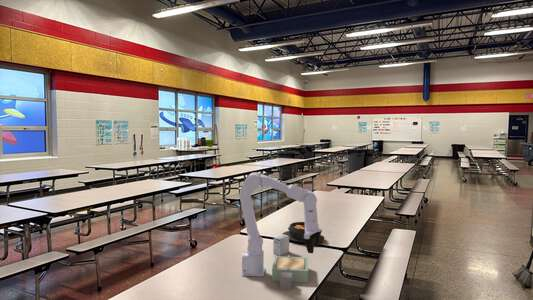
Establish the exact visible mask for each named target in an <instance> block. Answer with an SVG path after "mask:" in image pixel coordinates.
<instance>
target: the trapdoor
mask: <svg viewBox="0 0 533 300" xmlns="http://www.w3.org/2000/svg"><path fill="white" fill-rule="evenodd" d="M287 267H288V268H289V269H305V264H304V259H299V258H278V259H277V265H276V268H284V269H287Z"/></svg>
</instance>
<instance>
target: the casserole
mask: <svg viewBox="0 0 533 300" xmlns="http://www.w3.org/2000/svg"><path fill="white" fill-rule="evenodd" d="M287 229H288V231H287V230H286V231H284V232H282V234H284V235H288V236H289V241H290V240H291V241H292V242H296V243H303V244H305V243H304V241H303V240H302V237H303V236H304V234H305V221H295V222H292V223H290V224H289V226H288V228H287ZM324 240H325V236H324V235H320V239H319V243H320V242H323V241H324Z"/></svg>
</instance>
